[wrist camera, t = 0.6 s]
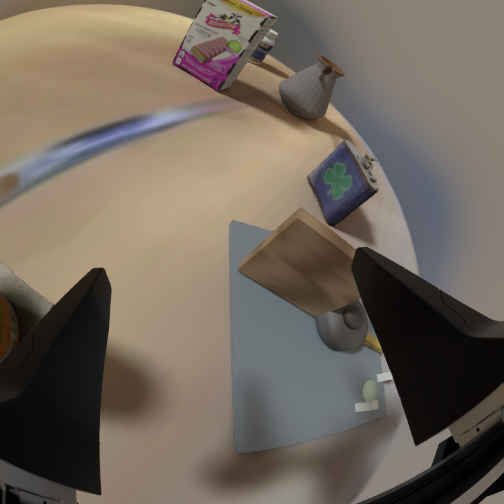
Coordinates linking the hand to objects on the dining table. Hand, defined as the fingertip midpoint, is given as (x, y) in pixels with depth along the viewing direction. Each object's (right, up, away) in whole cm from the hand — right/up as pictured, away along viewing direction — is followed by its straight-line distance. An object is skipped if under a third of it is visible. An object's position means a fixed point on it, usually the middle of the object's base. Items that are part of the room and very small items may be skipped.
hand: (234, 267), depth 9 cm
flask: (+11, +8, +31) cm, 34 cm away
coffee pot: (+8, +28, +41) cm, 50 cm away
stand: (+7, -8, +19) cm, 22 cm away
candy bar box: (-8, +32, +32) cm, 46 cm away
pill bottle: (0, +48, +47) cm, 67 cm away
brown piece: (+8, -6, +19) cm, 21 cm away
